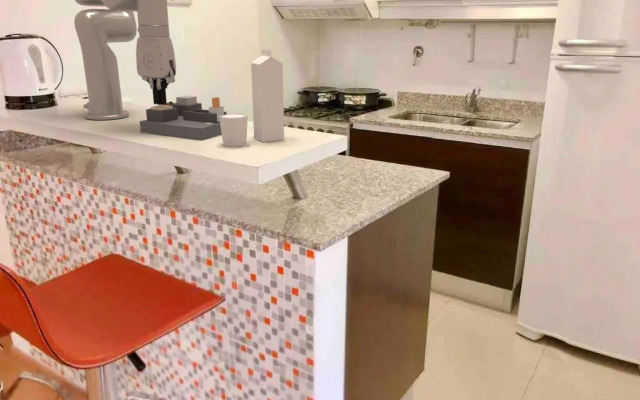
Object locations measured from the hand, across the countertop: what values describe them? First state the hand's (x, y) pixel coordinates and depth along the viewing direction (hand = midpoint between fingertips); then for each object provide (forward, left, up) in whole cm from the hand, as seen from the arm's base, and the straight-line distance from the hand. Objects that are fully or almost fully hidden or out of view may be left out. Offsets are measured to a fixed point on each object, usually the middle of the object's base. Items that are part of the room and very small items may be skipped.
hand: (160, 103), depth 144 cm
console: (+7, +5, -7) cm, 11 cm away
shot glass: (+27, -4, -8) cm, 29 cm away
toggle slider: (+15, +5, -4) cm, 16 cm away
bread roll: (-17, +22, -8) cm, 29 cm away
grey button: (0, +10, -3) cm, 10 cm away
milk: (+31, +5, -8) cm, 33 cm away
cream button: (0, 0, -4) cm, 4 cm away
